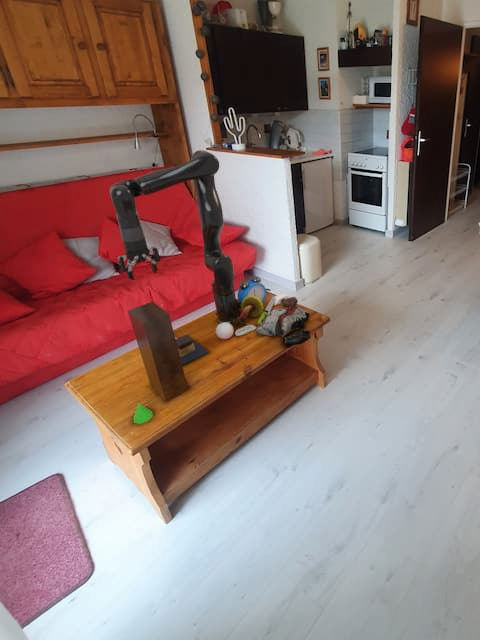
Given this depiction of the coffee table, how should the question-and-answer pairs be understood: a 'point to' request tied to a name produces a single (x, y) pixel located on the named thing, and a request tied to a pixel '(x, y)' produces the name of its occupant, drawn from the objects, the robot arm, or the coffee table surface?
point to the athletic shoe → (291, 320)
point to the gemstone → (142, 414)
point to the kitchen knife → (266, 311)
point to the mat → (193, 353)
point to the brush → (184, 345)
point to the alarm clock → (251, 289)
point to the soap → (245, 330)
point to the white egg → (224, 330)
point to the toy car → (296, 338)
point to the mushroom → (249, 309)
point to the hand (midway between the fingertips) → (143, 275)
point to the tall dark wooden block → (158, 350)
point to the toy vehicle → (280, 298)
